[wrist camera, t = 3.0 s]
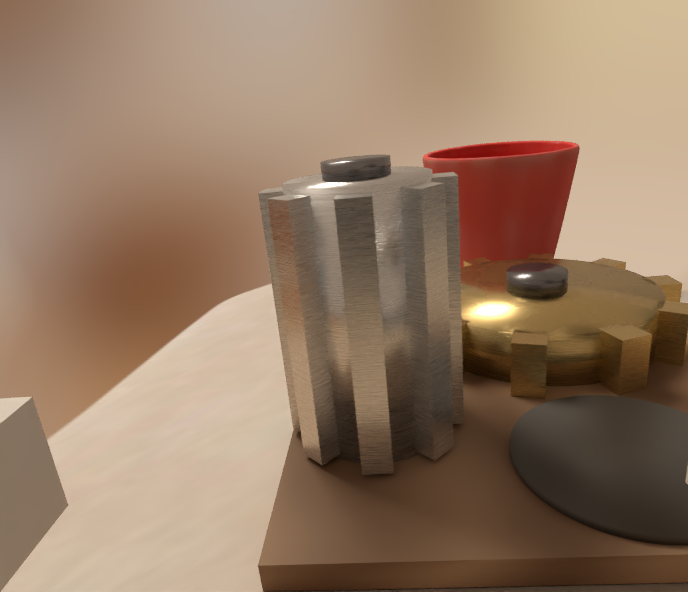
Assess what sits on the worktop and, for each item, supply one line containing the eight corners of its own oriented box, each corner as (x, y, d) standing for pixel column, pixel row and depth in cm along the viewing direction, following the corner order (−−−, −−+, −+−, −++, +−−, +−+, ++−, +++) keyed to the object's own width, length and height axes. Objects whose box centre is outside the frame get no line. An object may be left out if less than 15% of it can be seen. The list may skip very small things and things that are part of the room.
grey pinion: (451, 379, 24) (443, 143, 21) (477, 475, 18) (471, 158, 15) (306, 387, 25) (276, 159, 22) (282, 482, 19) (233, 180, 15)
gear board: (613, 297, 35) (615, 278, 34) (966, 576, 14) (980, 537, 13) (328, 316, 36) (326, 299, 36) (263, 591, 16) (256, 557, 15)
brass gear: (614, 284, 34) (618, 231, 33) (756, 388, 21) (771, 308, 20) (401, 299, 35) (398, 248, 34) (415, 406, 23) (410, 331, 21)
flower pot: (546, 305, 35) (551, 153, 31) (404, 285, 41) (396, 158, 38) (589, 262, 42) (596, 137, 39) (463, 251, 49) (461, 143, 46)
